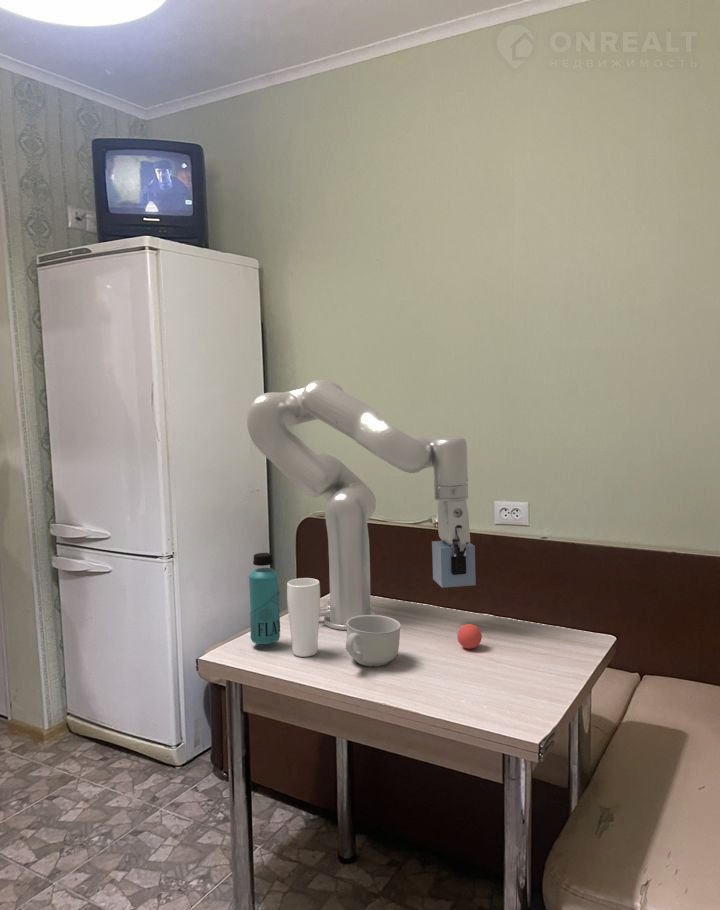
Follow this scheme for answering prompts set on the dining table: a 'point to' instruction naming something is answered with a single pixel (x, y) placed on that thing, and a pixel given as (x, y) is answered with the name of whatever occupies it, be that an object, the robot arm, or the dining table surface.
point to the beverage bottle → (264, 601)
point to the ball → (469, 636)
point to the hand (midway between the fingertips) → (453, 569)
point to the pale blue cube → (443, 565)
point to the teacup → (372, 639)
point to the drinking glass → (304, 615)
